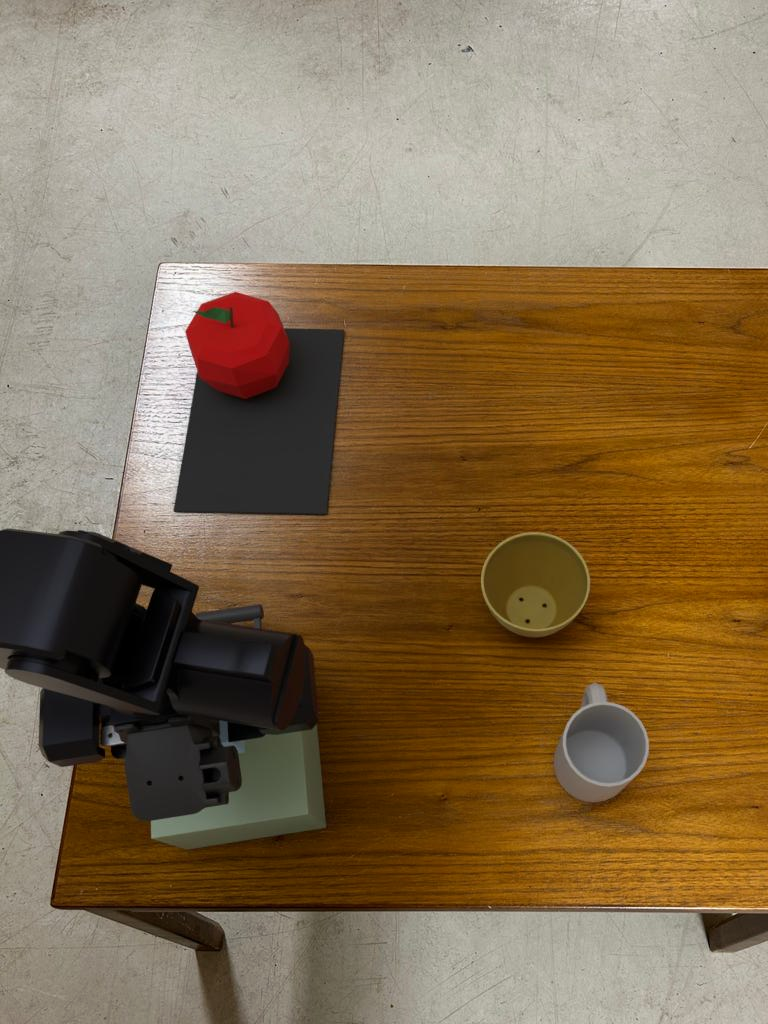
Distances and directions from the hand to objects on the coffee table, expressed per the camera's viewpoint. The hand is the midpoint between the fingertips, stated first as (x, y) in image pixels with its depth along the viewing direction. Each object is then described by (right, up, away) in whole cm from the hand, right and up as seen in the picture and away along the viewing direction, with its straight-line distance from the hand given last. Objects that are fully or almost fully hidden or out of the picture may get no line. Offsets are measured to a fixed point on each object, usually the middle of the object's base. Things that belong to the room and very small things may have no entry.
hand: (217, 731), depth 65 cm
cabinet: (0, -4, +11) cm, 11 cm away
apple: (-5, +37, +26) cm, 45 cm away
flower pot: (+26, +10, +16) cm, 33 cm away
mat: (-3, +32, +24) cm, 40 cm away
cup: (+32, -3, +11) cm, 34 cm away
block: (0, 0, 0) cm, 0 cm away
